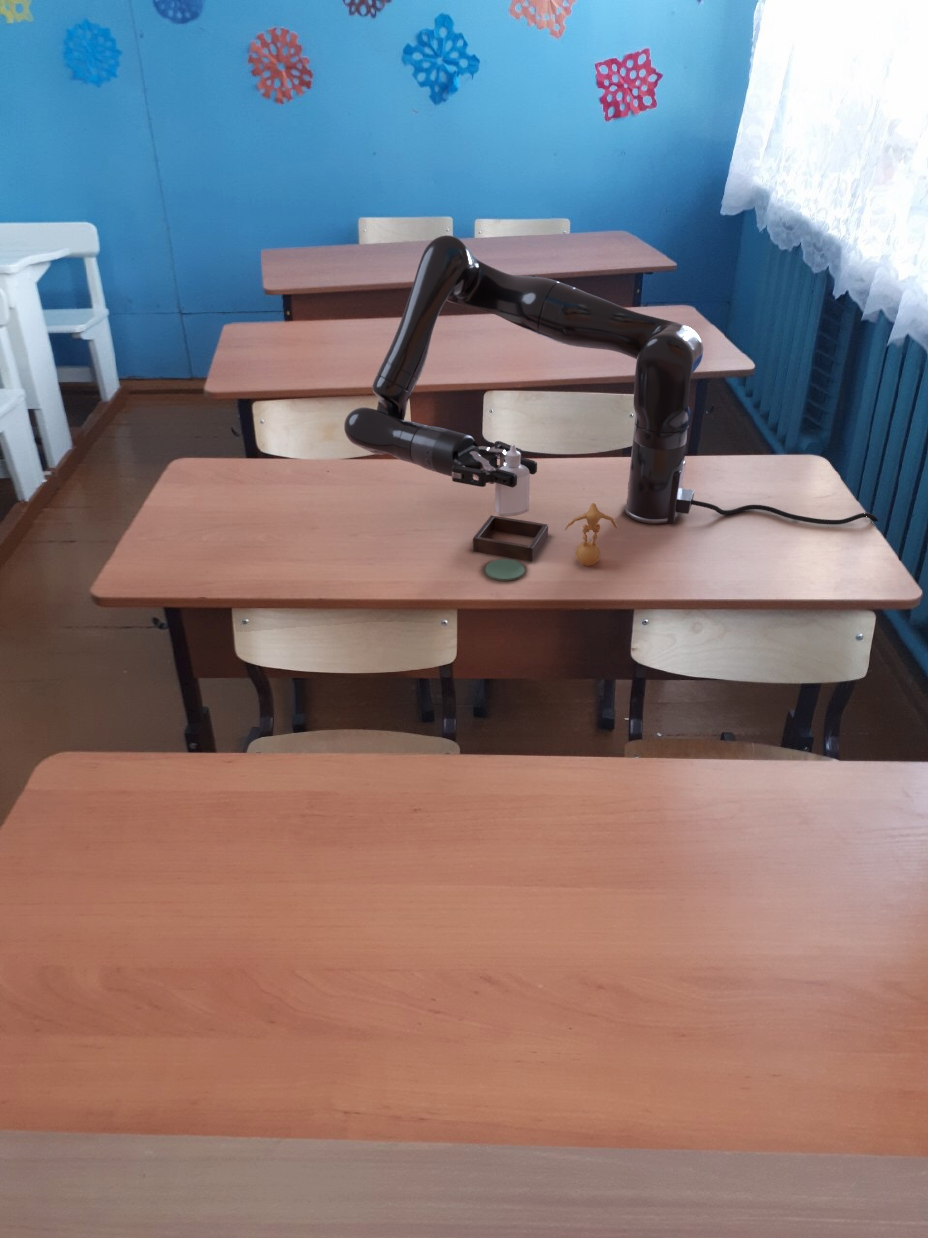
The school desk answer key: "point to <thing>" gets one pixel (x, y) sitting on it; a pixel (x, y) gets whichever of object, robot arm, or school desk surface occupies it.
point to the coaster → (504, 570)
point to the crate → (508, 548)
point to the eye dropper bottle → (518, 496)
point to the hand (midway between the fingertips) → (525, 474)
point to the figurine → (589, 550)
